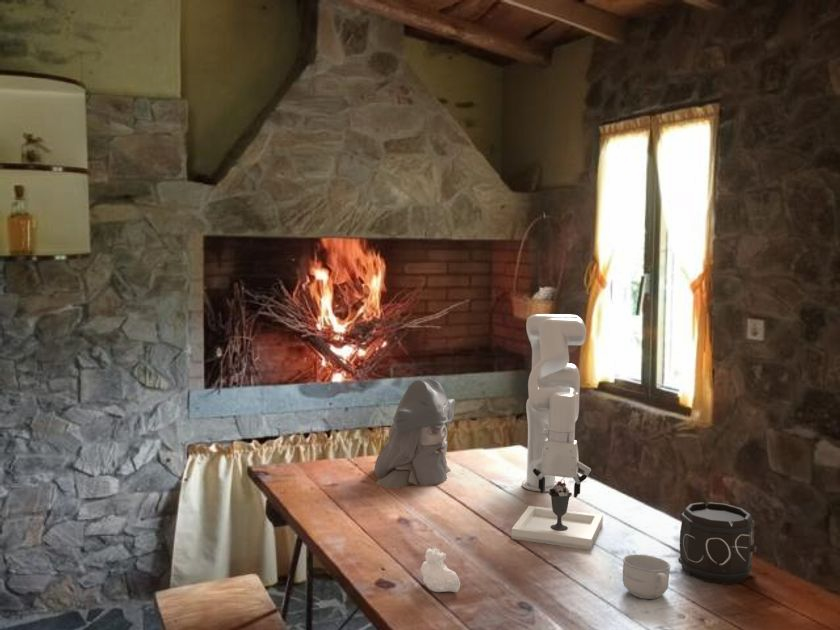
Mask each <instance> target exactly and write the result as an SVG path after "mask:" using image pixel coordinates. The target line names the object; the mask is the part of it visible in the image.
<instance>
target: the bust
mask: <svg viewBox="0 0 840 630" xmlns="http://www.w3.org/2000/svg"><path fill="white" fill-rule="evenodd" d="M445 392H446V391H445V389H444V387H443V386H442V385H441V383H439V382H438V381H436V380H435V379H432V378H424V379H418V380H414V381H412V382H411V384H410V385H409V386H408V387H407V389H406V391H405V392H404V394H403V395H402V396H401V399H400V401H399V402H398V405H397V408H396V411H395V413H394V415H393V419H392V425H391V426H390V429H389V432H388V441H387V443H386V444H385V446H384V447H383V449H382V450H381V452H380V453H379V454H378V455H377V457H376V461H375V465H374V469H373V470H374V475H375V478H376V477H377V478H380V479H379V480H377V481H376V483H377V484H376V486H378V485H379V487H382V486H383V487H382V488H385V487H387V488H386V489H397V488H396V487H400V488H403V487H402V486H404V487H407V485H408V486H412V485H415V486H418V485H419V486H422V485H423V486H424V487H426V485H427V486H435V484H437V485H440V484H439V483H441V484H443V483H444V481H445V482H446V481H447V480H448V477H447V475H448V473H450V472H451V468H450V467H449V466H448V465H447V464H448V463H447V459H446V455H447V449H448V439H447V438H448V429H447V427H448V424H450V423H452V422H453V420H454V418H455V408H456V407H455V406H456V400H455V399H454V398H447V396H446V393H445ZM446 479H447V480H446Z"/></svg>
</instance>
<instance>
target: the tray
mask: <svg viewBox="0 0 840 630" xmlns="http://www.w3.org/2000/svg"><path fill="white" fill-rule="evenodd" d="M603 516H604V514H597V513H590V512H582V511H574V510H568V509H567V512H566V513H565V514H564V515H563V516H562V517H561V522H562V525H565V526H567V527H568V529H567V530H564V531H558V530H553V529H551V526H552V525H556V523H557V515H556V514H554V512H553V509H552V507H542V506H536V505H528V507H527V508H526V509H525V511H524V512H523V513H522V514H521V516H520V517H519V518H518V520H517V521H516V523H515V524H514V525H513V527H512V528H511V540H516V541H522V542H523V541H524V542H532V543H539V544H544V543H545V545H546V544H547V545H553V546H559V547H568V548H573V549H579V550H585V551H586V550H588V551H592V549H593V547H594V544H595V542H596V540H597V538H598V535H599V533H600V531H601V529H602V527H603V521H604V519H603V518H604V517H603Z"/></svg>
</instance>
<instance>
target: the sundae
mask: <svg viewBox="0 0 840 630" xmlns="http://www.w3.org/2000/svg"><path fill="white" fill-rule="evenodd" d="M562 481H563V479H561V480H560V481H557V482H558V483H557V484H556V485H555V486H554V487H553V488H552V489H550V491H549V492H548V495H549V496H550V499H551V508H552V509H553V512H554V514H556V515H557V523H556V525H552V526H551V529H553V530H558V531H564V530H567V529H568V527H567V526H565V525H562V522H561V517H562V516H563V515H564V514H565V513H566V512H567V510H568V505H569V501H570V498H571V497H572V494H573V493H572V492H570V490H569V489H568V487H567V484H566V483H565V482H566V481H563V482H562Z"/></svg>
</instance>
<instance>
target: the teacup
mask: <svg viewBox="0 0 840 630" xmlns="http://www.w3.org/2000/svg"><path fill="white" fill-rule="evenodd" d="M622 560H623V563H622V583H623V587H625V589H626V590H627V591H629V593H630V594H631V595H632V596H635V597H637V598H640V599H646V600H654V599H657V598H659V597H660V596H663V595H664V594H665V593H666V591H667V590H668V588H669V580H670V570H671V564H670V563H669V562H668V561H666V560H665V559H662V558H659V557H656V556H652V555H648V554H628V555H625V556H624V557H623V558H622Z"/></svg>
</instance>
